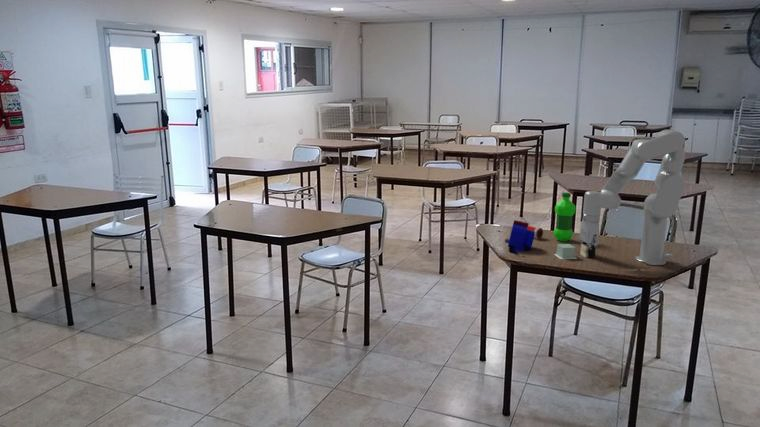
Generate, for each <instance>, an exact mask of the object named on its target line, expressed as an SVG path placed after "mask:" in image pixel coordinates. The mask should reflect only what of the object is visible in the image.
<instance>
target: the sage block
mask: <svg viewBox="0 0 760 427" xmlns="http://www.w3.org/2000/svg"><path fill="white" fill-rule="evenodd" d="M555 254H556V255H558V256H559V257H561V258H574V257H576V246H573V245H572V244H571V243H558V244H557V245H556V253H555Z"/></svg>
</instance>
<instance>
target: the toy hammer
mask: <svg viewBox="0 0 760 427" xmlns="http://www.w3.org/2000/svg"><path fill="white" fill-rule="evenodd" d="M527 230H530V231H534V232H535V235H534V240H540V239H542V238H543V235H544V229H543V228H542V227H539V226H538V227H534V226H530V225H528V227H527ZM509 239H510V238H506V239H504V242H505V243H507V244H508V243H509Z"/></svg>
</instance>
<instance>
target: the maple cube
mask: <svg viewBox="0 0 760 427" xmlns="http://www.w3.org/2000/svg"><path fill="white" fill-rule="evenodd" d="M591 245H592V246H593V245H594V244H591ZM589 249H590V248H589V244H581V243H580V252H579V254H580V256H582V257H584V258H588V250H589ZM596 254H597V250H596V251H595V258H596V256H597V255H596Z"/></svg>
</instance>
